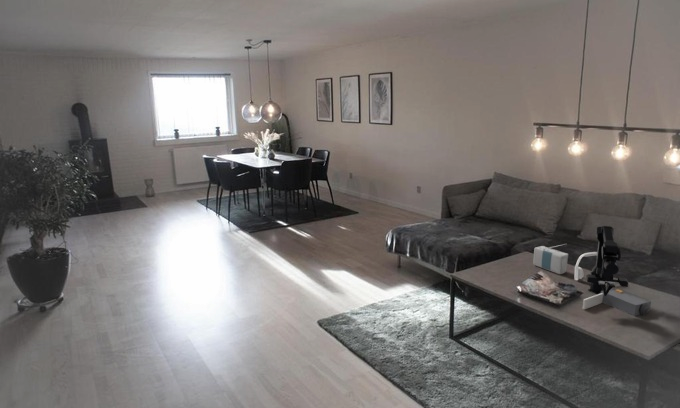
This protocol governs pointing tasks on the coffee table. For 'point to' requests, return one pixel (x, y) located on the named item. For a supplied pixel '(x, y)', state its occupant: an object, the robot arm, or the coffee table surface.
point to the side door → (593, 301)
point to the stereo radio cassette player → (550, 259)
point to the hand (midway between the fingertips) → (605, 295)
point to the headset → (578, 271)
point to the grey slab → (627, 302)
